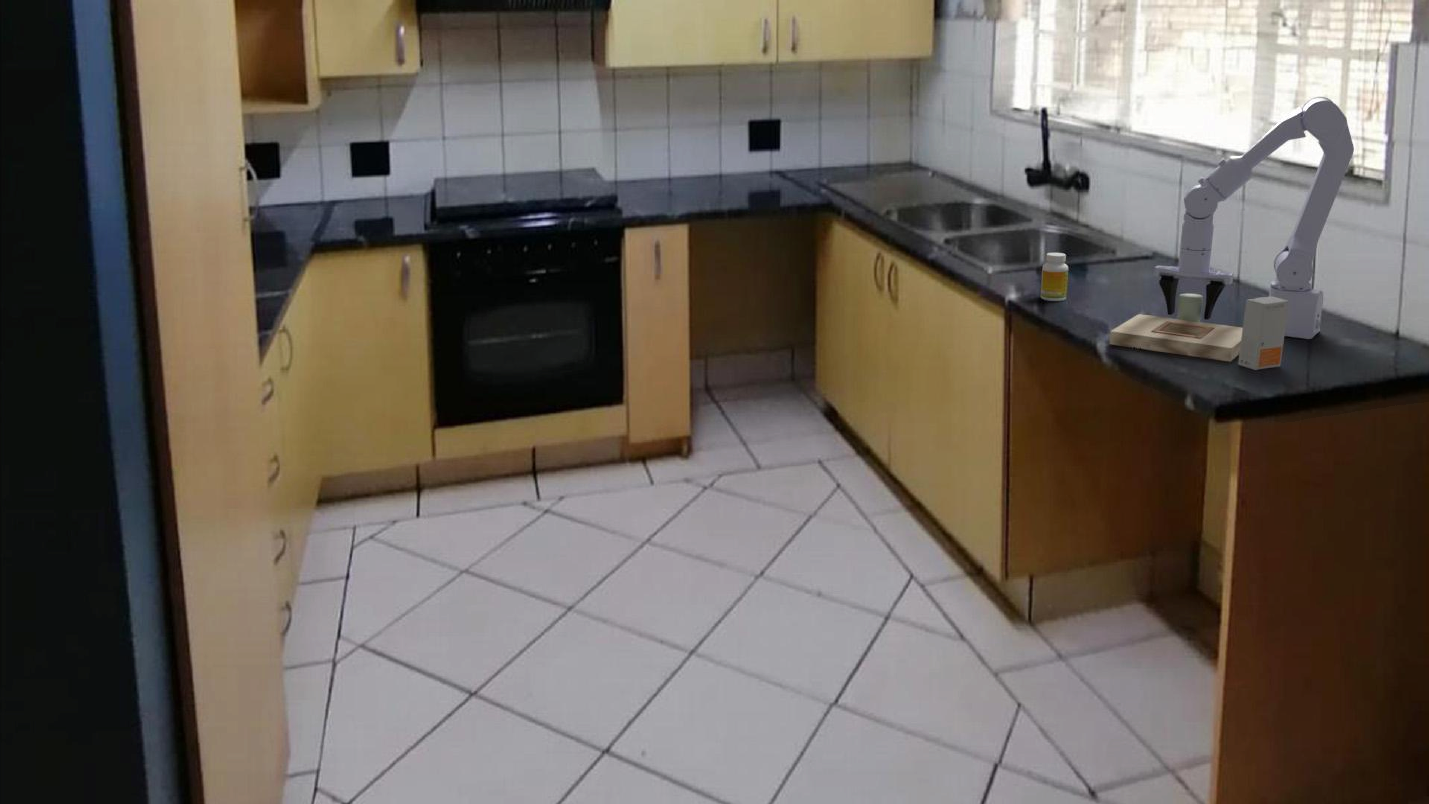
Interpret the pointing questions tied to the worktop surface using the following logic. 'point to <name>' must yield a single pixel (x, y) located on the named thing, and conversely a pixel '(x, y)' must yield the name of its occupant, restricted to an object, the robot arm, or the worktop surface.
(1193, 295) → the green peg
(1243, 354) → the skincare box
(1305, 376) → the worktop surface
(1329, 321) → the worktop surface
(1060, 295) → the supplement bottle
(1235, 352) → the hole plate
